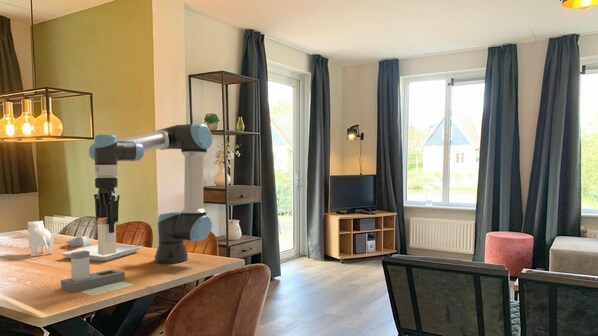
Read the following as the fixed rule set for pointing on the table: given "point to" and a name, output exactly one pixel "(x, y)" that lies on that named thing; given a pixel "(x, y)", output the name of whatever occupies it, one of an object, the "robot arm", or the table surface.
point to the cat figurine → (39, 237)
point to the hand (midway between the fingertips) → (107, 240)
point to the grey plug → (80, 266)
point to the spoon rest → (79, 242)
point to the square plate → (94, 256)
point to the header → (93, 280)
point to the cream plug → (105, 246)
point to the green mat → (107, 288)
